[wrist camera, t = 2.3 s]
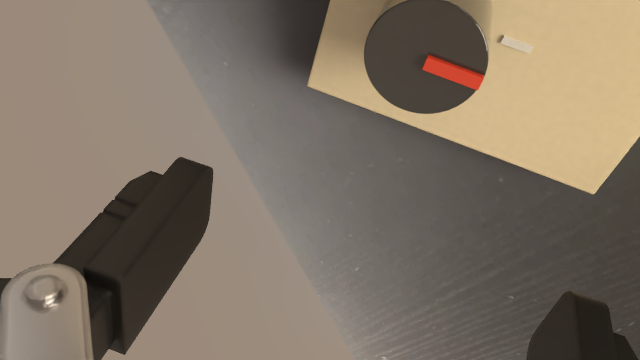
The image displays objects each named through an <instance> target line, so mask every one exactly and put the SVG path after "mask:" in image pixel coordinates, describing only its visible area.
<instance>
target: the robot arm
mask: <svg viewBox="0 0 640 360" xmlns="http://www.w3.org/2000/svg"><path fill="white" fill-rule="evenodd" d="M212 182H213V169H212V168H211V167H209V166H206V165H203V164H200V163H197V162H194V161H191V160H188V159H185V158H183V157H180V158H178V159H177V160H175V162H174V163H173V164H172V165H171V166H170V167H169V168H168V170H167V171H166V172H165V173H164V174H163V175H161V174H158V173H156V172H152V171H150V172H148V173H146V174H144V175H142V176H140V177H138V178H136V179H133V180H131V181H130V182H129V183H128V184H127V185H126V186H125V187H124V188H123V189H122V190H121V191H120V192H119V193H118V195H117V196H116V197H115V200H112V201H111V202H110V203H109V204H108V205H107V206H106V207H105V209H104V211H103V213H100V214H99V215H98V216H97V217H96V218H95V219H94V220H93V221H92V222H91V224H90V225H89V226H88V227H87V228H86V229H85V230H84V231H83V232H82V233H81V234H80V235H79V236H78V238H76V240H75V241H74V242H73V243H72V244H71V245H70V246H69V247H68V248H67V249H66V250H65V251H64V252H63V254H62V255H61V256H60V257H59V258H58V259H57V260H56V261H55V262H53V263H51V264H42V265H37V266H34V267H31V268H28V269H26V270H24V271H22V272H20V273H19V274H17V275H16V276H15V277H13V278H0V360H101V359H102V357H103V356H104V355H105V353H106V352H107V350H108V349H111V350H114V351H116V352H119V353H121V354H124V355H125V354H126V352H127V350H128V349H129V347H130V346H131V345H132V343H133V342H134V340H135V339H136V337H137V336H138V334H139V333H140V331H141V330H142V328H143V326H144V325H145V323H146V322H147V321H148V319H149V318H150V316H151V315H152V313H153V312H154V310H155V308H156V307H157V305H158V304H159V302H160V301H161V299H162V298H163V296H164V295H165V294H166V292H167V290H168V289H169V288H170V286H171V285H172V283H173V281H174V280H175V279H176V277H177V276H178V274H179V272H180V271H181V270H182V268H183V266H184V265H185V264H186V262H187V260H188V259H189V257H190V256H191V254H192V253H193V251H194V250H195V248H196V247H197V245H198V244H199V242H200V241H201V239H202V237H203V235H204V233H205V230H206V228H207V225H208V221H209V216H210V205H211V193H212ZM527 360H638V358H637V356H636V355H635V353H634V351H633V350H632V348H631V346H630V345H629V343H628V341H627V340H626V338H625V336H622V335H619V334H616V333H613V330H612V324H611V318H610V313H609V308H608V306H607V305H606V304H605V303H603V302H600V301H597V300H594V299H591V298H588V297H585V296H582V295H579V294H576V293H574V292H571V291H567V292H565V293H564V294H563V295H562V296H561V298H560V299H559V300H558V302H557V303H556V304H555V305H554V307H553V308H552V309H551V311H550V312H549V313H548V315H547V316H546V317H545V319H544V320H543V321H542V323H541V324H540V325H539V327H538V328H537V329H536V331H535V332H534V334H533V336H532V338H531V341H530V344H529V347H528V352H527Z"/></svg>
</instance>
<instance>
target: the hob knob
mask: <svg viewBox="0 0 640 360" xmlns="http://www.w3.org/2000/svg"><path fill="white" fill-rule="evenodd" d="M491 25H492V3H491V0H386V2H385V3H384V5H383V7H382V9H381V11H380V13H379V14H378V16H377V18H376V20H375V22H374V24H373V25H372V27H371V29H370V31H369V33H368V36H367V38H366V42H365V47H364V63H365V69H366V72H367V75H368V77H369V79H370V81H371V83H372V85H373V86H374V88H375V89H376V90H377V92H378V93H379V94H380V95H381V96H382V97H383V98H384V99H385V100H387V101H388V102H389V103H391V104H393V105H394V106H396V107H398V108H400V109H403V110H406V111H409V112H413V113H420V114H434V113H440V112H444V111H448V110H450V109H453V108H455V107H457V106H459V105H460V104H462V103H463V102H465V101H466V100H468V99H469V98H470V97H471V96H472V95H473V94H474V93H475V92H476V90H479V88H480V86H481V84H482V82H483V80H484V77H485V74H486V71H487V67H488V60H489V49H490V37H491Z"/></svg>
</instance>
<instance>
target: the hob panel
mask: <svg viewBox="0 0 640 360" xmlns="http://www.w3.org/2000/svg"><path fill="white" fill-rule="evenodd" d="M385 2H386V0H330V3H329V7H328V10H327V14H326V18H325V21H324V25H323V29H322V32H321V36H320V40H319V43H318V47H317V51H316V54H315V58H314V61H313V65H312V69H311V72H310V76H309V80H308V83H307V86H308V87H311V88H313V89H316V90H318V91H321V92H324V93H326V94H329V95H332V96H334V97H337V98H340V99H342V100H345V101H348V102H350V103H353V104H355V105H358V106H361V107H363V108H366V109H369V110H371V111H374V112H377V113H379V114H382V115H385V116H387V117H390V118H393V119H395V120H398V121H400V122H403V123H406V124H408V125H411V126H414V127H416V128H419V129H422V130H424V131H427V132H430V133H432V134H435V135H437V136H440V137H443V138H445V139H448V140H451V141H453V142H456V143H459V144H461V145H464V146H467V147H469V148H472V149H474V150H477V151H480V152H482V153H485V154H488V155H490V156H493V157H496V158H498V159H501V160H504V161H506V162H509V163H511V164H514V165H517V166H519V167H522V168H525V169H527V170H530V171H533V172H535V173H538V174H541V175H543V176H546V177H549V178H551V179H554V180H556V181H559V182H562V183H564V184H567V185H570V186H572V187H575V188H578V189H580V190H583V191H586V192H588V193H591V194H595V192H596V191H597V190H598V189H599V187H600V186H601V185H602V183H603V182H604V181H605V180H606V178H607V177H608V176H609V175H610V173H611V172H612V171H613V169H614V168H615V167H616V166H617V164H618V163H619V162H620V161H621V159H622V158H623V157H624V155H625V154H626V153H627V152H628V150H629V149H630V148H631V147H632V145H633V144H634V143H635V141H636V140H637V139H638V138H639V136H640V0H491V3H492V25H491V37H490V49H489V60H488V67H487V71H486V74H485V77H484V80H483V82H482V84H481V86H480V88H479V90H476V92H475V93H474V94H473V95H472V96H471V97H470V98H469V99H468V100H466V101H465V102H463V103H462V104H460V105H459V106H457V107H455V108H453V109H450V110H448V111H444V112H440V113H434V114H420V113H413V112H409V111H406V110H403V109H400V108H398V107H396V106H394V105H393V104H391V103H389V102H388V101H387V100H385V99H384V98H383V97H382V96H381V95H380V94H379V93H378V92H377V90H376V89H375V88H374V86H373V85H372V83H371V81H370V79H369V77H368V75H367V72H366V69H365V63H364V47H365V42H366V38H367V36H368V33H369V31H370V29H371V27H372V25H373V24H374V22H375V20H376V18H377V16H378V14H379V13H380V11H381V9H382V7H383V5H384V3H385Z"/></svg>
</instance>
